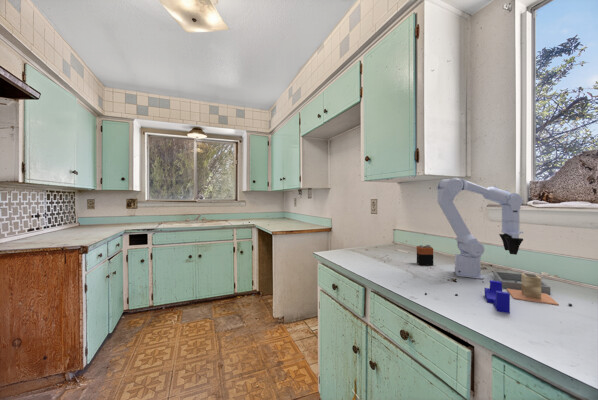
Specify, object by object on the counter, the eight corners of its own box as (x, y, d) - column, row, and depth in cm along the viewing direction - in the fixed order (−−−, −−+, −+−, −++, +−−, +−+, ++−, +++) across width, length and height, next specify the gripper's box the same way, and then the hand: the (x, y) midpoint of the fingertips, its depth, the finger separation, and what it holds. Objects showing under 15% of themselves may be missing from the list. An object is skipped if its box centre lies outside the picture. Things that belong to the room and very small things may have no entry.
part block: (525, 296, 82) (525, 276, 82) (521, 292, 86) (521, 272, 86) (541, 299, 80) (541, 278, 80) (536, 294, 84) (536, 274, 84)
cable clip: (484, 296, 85) (484, 279, 85) (500, 298, 83) (500, 281, 83) (490, 310, 75) (490, 291, 74) (509, 313, 72) (509, 294, 72)
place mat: (513, 298, 82) (513, 297, 82) (506, 289, 90) (506, 288, 90) (558, 305, 77) (558, 304, 77) (546, 294, 84) (546, 293, 84)
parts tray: (501, 287, 91) (501, 281, 91) (493, 276, 103) (493, 271, 103) (550, 294, 85) (550, 287, 85) (535, 281, 97) (535, 275, 97)
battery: (433, 265, 121) (433, 246, 120) (419, 265, 121) (419, 246, 121) (430, 263, 125) (429, 244, 125) (416, 263, 126) (416, 244, 126)
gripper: (528, 223, 95) (529, 257, 95) (517, 219, 108) (517, 249, 108) (505, 222, 98) (506, 255, 99) (497, 219, 111) (497, 248, 111)
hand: (510, 252), depth 104 cm, fingers open, 7 cm apart
